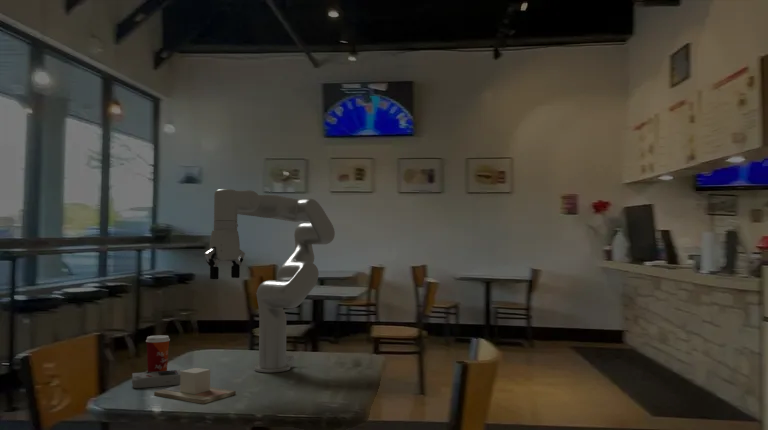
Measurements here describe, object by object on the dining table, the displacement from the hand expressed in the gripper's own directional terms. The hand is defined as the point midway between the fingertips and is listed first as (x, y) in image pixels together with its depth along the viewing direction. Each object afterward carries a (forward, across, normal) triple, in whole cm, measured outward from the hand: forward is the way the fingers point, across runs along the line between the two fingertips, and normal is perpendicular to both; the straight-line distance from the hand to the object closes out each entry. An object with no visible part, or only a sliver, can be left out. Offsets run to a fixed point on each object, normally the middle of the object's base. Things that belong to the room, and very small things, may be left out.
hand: (225, 278), depth 211 cm
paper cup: (+34, +10, -20) cm, 40 cm away
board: (+33, +19, +7) cm, 39 cm away
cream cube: (+32, +19, +7) cm, 38 cm away
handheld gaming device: (+34, +15, -14) cm, 40 cm away
